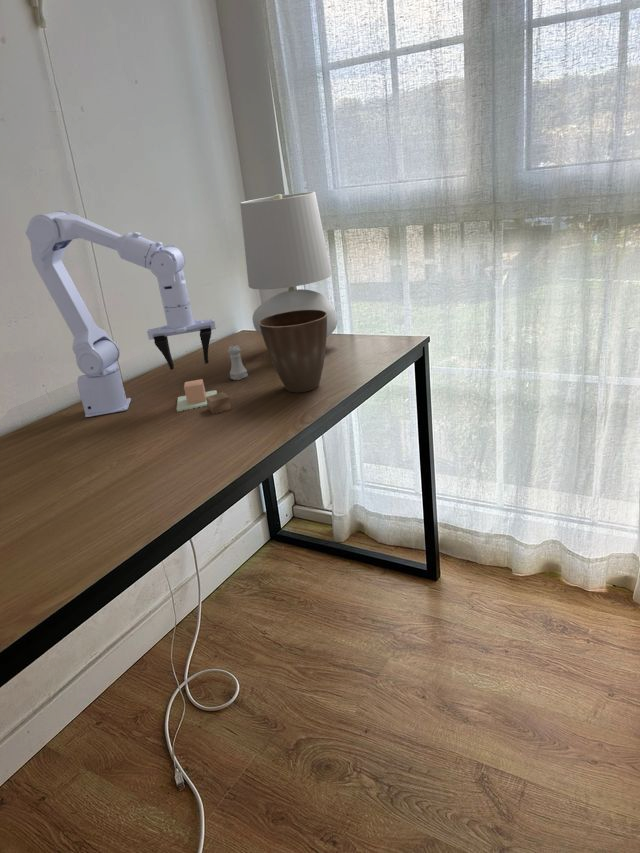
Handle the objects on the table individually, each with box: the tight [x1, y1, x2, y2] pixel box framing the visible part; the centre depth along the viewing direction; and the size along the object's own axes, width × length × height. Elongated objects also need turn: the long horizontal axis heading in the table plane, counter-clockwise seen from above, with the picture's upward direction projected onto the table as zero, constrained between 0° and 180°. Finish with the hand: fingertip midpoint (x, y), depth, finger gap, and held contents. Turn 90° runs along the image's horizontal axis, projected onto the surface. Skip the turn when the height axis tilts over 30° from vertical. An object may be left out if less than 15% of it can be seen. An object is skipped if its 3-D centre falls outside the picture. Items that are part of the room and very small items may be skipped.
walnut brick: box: [206, 392, 232, 414], centre depth 144 cm, size 4×4×3 cm
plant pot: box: [259, 310, 328, 393], centre depth 148 cm, size 15×15×16 cm
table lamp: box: [239, 191, 338, 338], centre depth 172 cm, size 23×22×40 cm
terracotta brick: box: [183, 378, 207, 404], centre depth 150 cm, size 4×4×4 cm
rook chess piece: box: [227, 344, 249, 381], centre depth 163 cm, size 4×4×8 cm
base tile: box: [176, 389, 218, 412], centre depth 151 cm, size 9×9×1 cm
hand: (189, 365), depth 148 cm, fingers open, 7 cm apart
